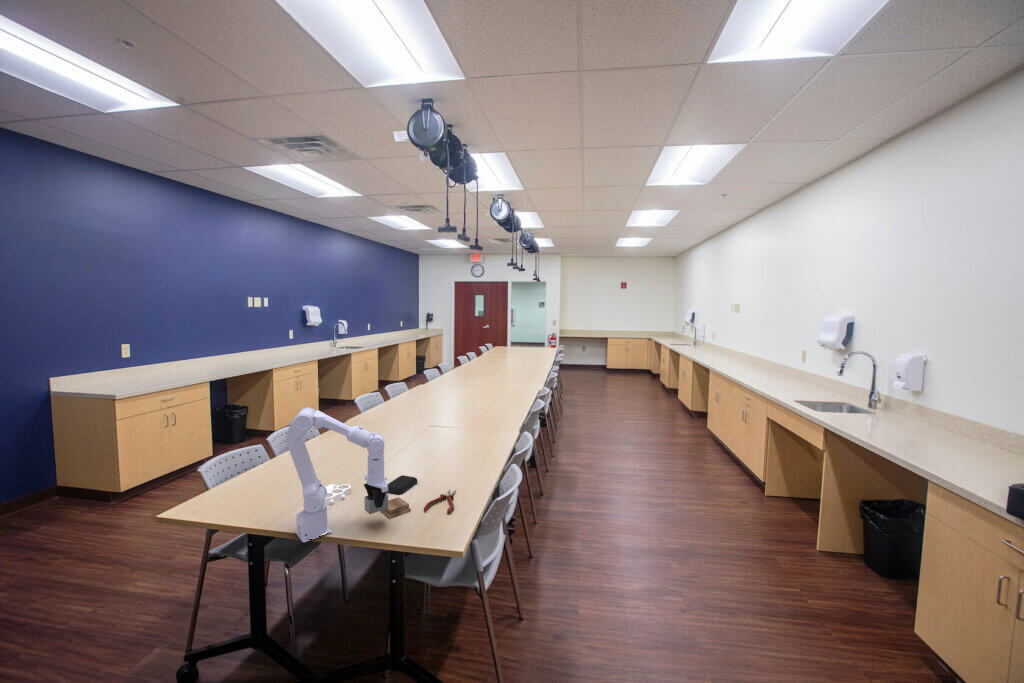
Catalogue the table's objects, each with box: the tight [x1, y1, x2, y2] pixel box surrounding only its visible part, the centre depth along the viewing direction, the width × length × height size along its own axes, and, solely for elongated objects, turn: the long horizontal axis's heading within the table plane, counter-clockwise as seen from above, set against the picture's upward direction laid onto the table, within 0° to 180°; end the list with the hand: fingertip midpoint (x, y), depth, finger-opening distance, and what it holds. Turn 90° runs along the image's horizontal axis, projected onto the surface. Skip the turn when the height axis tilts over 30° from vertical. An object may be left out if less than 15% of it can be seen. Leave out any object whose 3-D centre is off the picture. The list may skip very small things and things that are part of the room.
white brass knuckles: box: [324, 483, 352, 506], centre depth 170 cm, size 3×18×15 cm
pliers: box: [423, 488, 457, 516], centre depth 169 cm, size 12×20×3 cm, turn 170°
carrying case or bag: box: [386, 475, 418, 495], centre depth 183 cm, size 11×3×15 cm
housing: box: [364, 493, 389, 515], centre depth 150 cm, size 4×7×5 cm, turn 134°
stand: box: [379, 496, 412, 520], centre depth 161 cm, size 9×9×3 cm
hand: (376, 504), depth 150 cm, fingers closed on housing, 4 cm apart
